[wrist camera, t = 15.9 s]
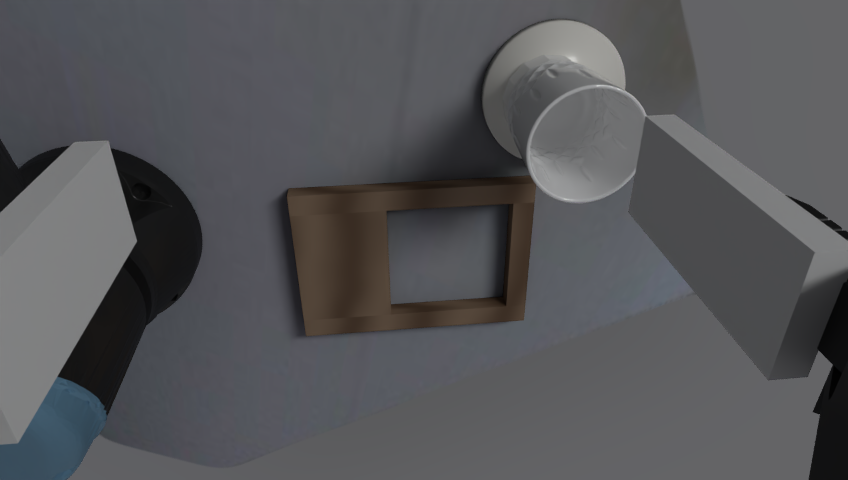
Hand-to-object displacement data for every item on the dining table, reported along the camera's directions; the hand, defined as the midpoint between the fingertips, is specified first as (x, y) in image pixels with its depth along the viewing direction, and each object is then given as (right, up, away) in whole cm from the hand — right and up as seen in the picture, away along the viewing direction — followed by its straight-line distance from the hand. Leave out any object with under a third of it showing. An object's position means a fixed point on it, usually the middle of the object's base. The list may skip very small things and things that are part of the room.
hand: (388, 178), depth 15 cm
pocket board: (0, -3, +39) cm, 39 cm away
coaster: (+11, +10, +32) cm, 36 cm away
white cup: (+10, +9, +32) cm, 35 cm away
